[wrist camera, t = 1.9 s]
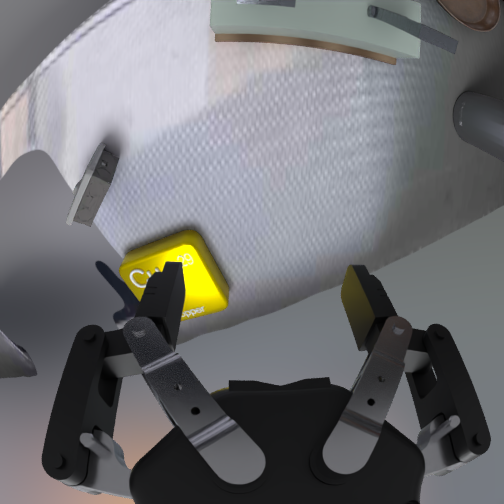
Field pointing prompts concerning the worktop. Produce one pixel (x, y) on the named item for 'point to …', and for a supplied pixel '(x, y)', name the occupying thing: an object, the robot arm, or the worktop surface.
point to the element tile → (194, 268)
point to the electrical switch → (92, 187)
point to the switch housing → (323, 23)
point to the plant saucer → (474, 13)
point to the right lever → (413, 28)
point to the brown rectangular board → (304, 44)
